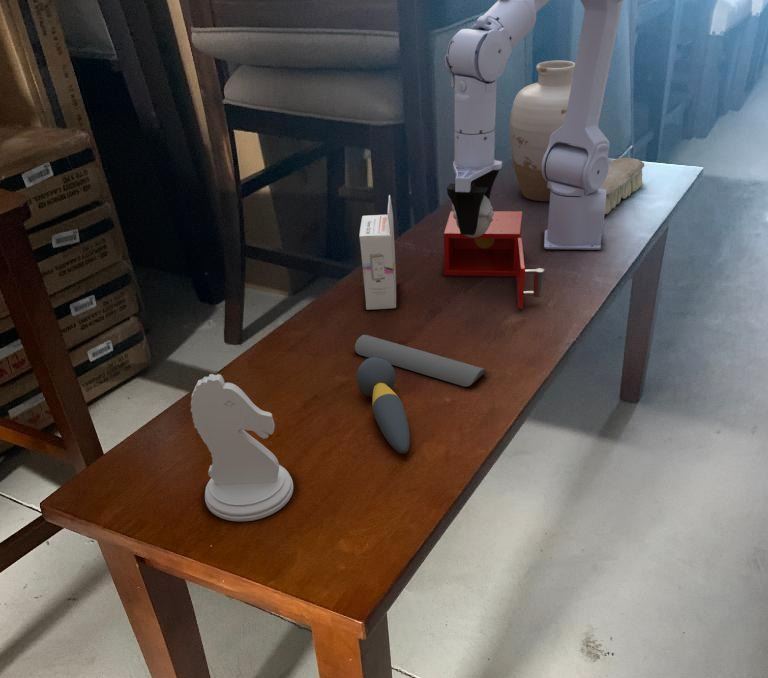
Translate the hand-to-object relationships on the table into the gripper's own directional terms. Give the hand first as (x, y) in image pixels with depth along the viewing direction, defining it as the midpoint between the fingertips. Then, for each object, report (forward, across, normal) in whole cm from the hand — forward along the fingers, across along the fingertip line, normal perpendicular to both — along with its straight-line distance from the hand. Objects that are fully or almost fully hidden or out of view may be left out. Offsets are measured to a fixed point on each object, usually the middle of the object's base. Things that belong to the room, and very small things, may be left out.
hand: (473, 225), depth 117 cm
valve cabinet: (+10, +9, 0) cm, 13 cm away
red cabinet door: (+9, -1, -9) cm, 13 cm away
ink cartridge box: (+10, -7, +13) cm, 18 cm away
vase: (+10, +45, -5) cm, 46 cm away
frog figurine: (+2, 0, 0) cm, 2 cm away
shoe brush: (+10, +44, -17) cm, 48 cm away
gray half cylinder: (+10, -26, +2) cm, 28 cm away
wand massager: (+10, -38, +2) cm, 40 cm away
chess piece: (+10, -57, +12) cm, 59 cm away
